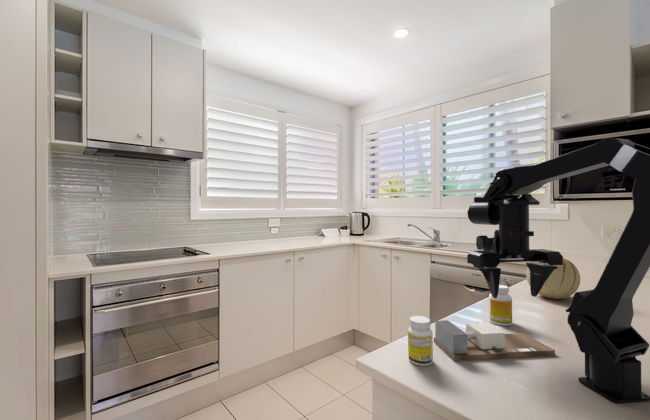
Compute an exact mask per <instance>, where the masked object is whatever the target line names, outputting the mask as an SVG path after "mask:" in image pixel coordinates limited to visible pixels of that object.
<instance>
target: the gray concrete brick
mask: <svg viewBox="0 0 650 420" xmlns="http://www.w3.org/2000/svg"><path fill="white" fill-rule="evenodd" d="M434 323H435V326H434V327H435V328H434V330H435V337H434V338H436V339H437V340H438V341H439V342H440V343H441V344H442V345H443V346H444V347H445V348H446V349H448V350H449V351H450V352H451V353H452V354H453V355H460V354H467V334H466V331H463V330H462V329H460V328H459V327H458V326H456V325H455V324H454V323H452V322H451V321H450V320H448V319H447V320H435V321H434Z"/></svg>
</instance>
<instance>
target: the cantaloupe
mask: <svg viewBox="0 0 650 420" xmlns="http://www.w3.org/2000/svg"><path fill="white" fill-rule="evenodd" d="M553 266H557V267H558V269H555V270H554V271H553V272H552V273H551V275H550V276H549V277H548V279H547V280H546V282H545V283H544V285H543V286H542V288H541V290H540V291H539V293H538V295H540V296H542V297H544V298H547V299H554V300H560V299H566V298H569V297H571V296H574V294H575V293H576V292H578V289H579V286H580V284H581V275H580V271H579V269H578V268H577V266H576V265H575V264H574V263H573V262H572V261H570V260H569V259H566V258H564V257H563V265H553ZM525 272H526V273H525V275H526V281H527V283H528V286H530V270H529V268H528V267H527V269H526V271H525Z"/></svg>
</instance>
